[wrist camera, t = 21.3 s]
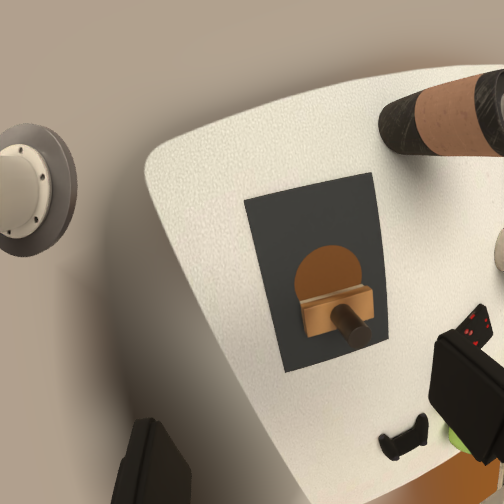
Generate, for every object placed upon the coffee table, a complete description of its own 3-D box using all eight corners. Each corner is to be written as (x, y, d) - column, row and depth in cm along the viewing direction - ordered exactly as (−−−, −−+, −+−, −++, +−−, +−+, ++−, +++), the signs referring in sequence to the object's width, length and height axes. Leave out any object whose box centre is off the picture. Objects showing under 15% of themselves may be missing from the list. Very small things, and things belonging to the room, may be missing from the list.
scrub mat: (284, 371, 41) (285, 373, 41) (243, 200, 35) (243, 200, 34) (387, 337, 42) (388, 339, 41) (370, 172, 36) (372, 172, 35)
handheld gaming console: (489, 332, 45) (521, 355, 36) (447, 375, 46) (476, 405, 37) (480, 301, 43) (517, 324, 33) (434, 349, 44) (467, 380, 34)
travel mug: (384, 161, 35) (506, 165, 16) (369, 103, 33) (482, 64, 14) (428, 151, 36) (546, 154, 16) (414, 97, 33) (527, 70, 14)
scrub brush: (302, 327, 39) (322, 365, 31) (297, 300, 38) (318, 334, 30) (365, 308, 40) (396, 339, 31) (363, 281, 39) (396, 309, 30)
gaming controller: (373, 435, 51) (384, 462, 47) (378, 437, 47) (389, 466, 43) (419, 411, 51) (429, 438, 47) (426, 412, 47) (437, 440, 43)
